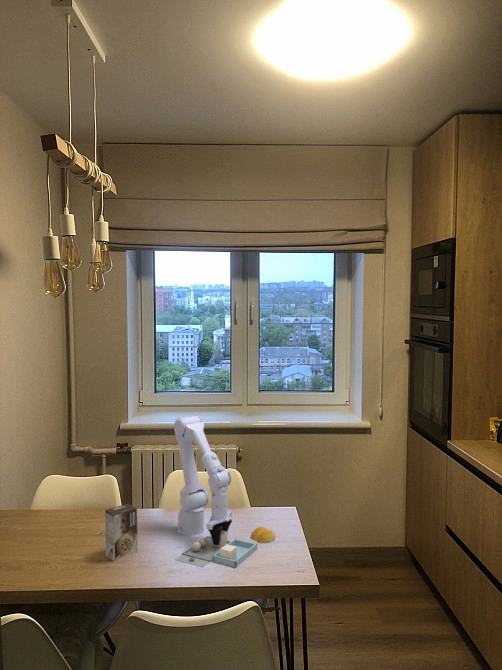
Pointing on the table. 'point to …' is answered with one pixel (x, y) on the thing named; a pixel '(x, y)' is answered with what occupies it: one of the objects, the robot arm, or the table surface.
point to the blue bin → (242, 553)
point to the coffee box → (121, 531)
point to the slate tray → (200, 554)
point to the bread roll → (263, 535)
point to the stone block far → (222, 539)
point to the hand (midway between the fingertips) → (219, 542)
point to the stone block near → (228, 552)
